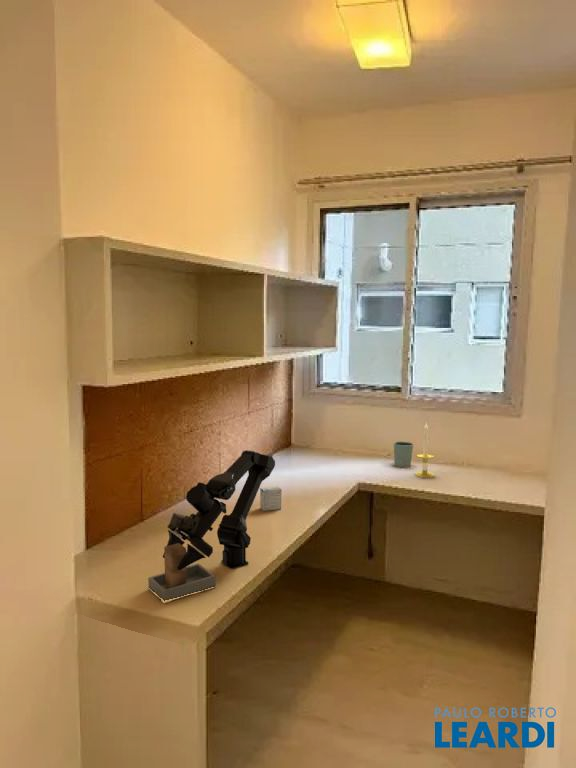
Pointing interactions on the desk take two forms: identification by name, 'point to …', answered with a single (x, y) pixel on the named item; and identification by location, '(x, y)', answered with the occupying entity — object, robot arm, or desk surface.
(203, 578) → the tray
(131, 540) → the desk surface
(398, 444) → the green cup
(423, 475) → the candle
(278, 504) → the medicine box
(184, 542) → the robot arm
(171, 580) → the walnut block
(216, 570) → the desk surface
